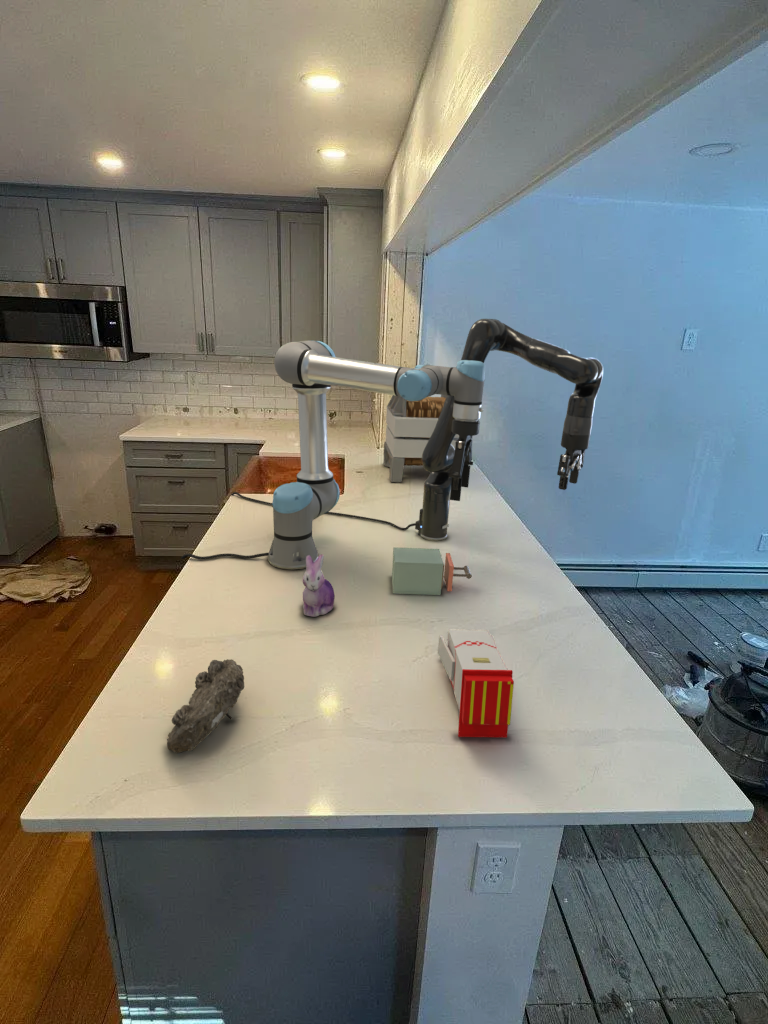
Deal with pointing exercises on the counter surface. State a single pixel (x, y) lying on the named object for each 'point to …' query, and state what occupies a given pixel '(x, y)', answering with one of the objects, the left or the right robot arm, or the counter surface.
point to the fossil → (206, 705)
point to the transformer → (409, 432)
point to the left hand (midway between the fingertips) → (459, 493)
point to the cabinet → (417, 571)
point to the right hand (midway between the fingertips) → (567, 486)
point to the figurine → (316, 589)
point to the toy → (478, 682)
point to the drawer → (449, 572)
